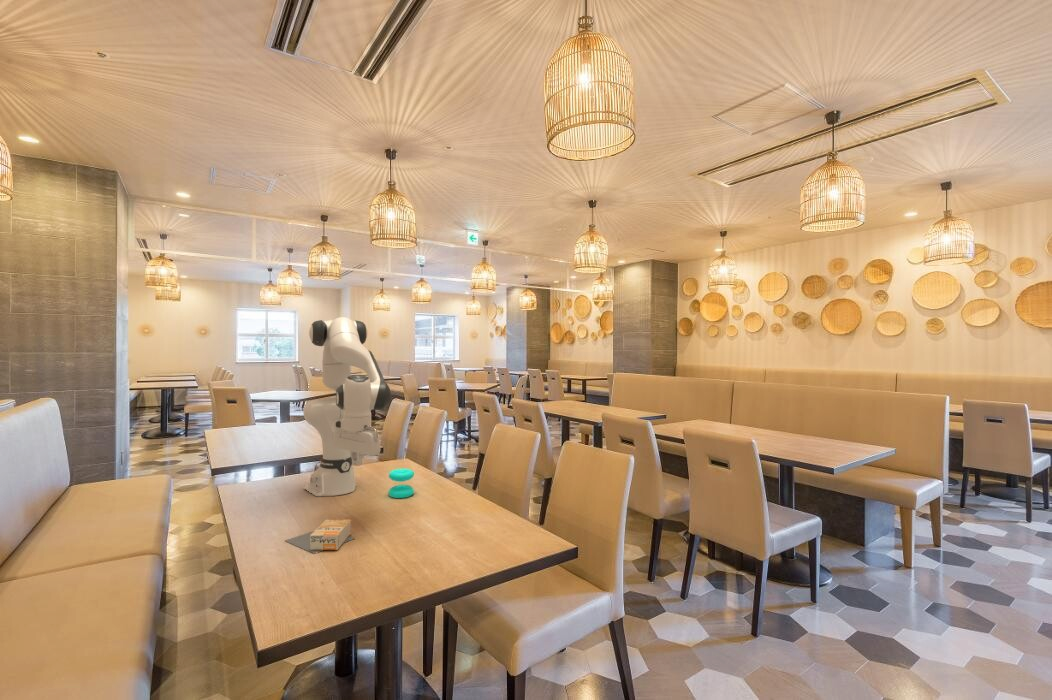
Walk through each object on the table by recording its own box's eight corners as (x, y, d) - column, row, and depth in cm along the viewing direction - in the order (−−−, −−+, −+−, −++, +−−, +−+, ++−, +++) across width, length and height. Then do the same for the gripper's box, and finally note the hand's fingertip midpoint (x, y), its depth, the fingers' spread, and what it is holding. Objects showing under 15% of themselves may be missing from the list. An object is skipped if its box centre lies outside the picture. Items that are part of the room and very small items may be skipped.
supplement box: (351, 518, 157) (338, 534, 144) (351, 533, 157) (338, 550, 144) (325, 518, 156) (309, 534, 143) (325, 533, 156) (309, 551, 143)
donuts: (395, 467, 203) (418, 468, 201) (395, 490, 204) (417, 492, 202) (384, 473, 194) (407, 474, 192) (384, 498, 194) (407, 500, 192)
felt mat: (284, 541, 150) (284, 540, 150) (325, 527, 162) (325, 526, 162) (314, 554, 141) (314, 553, 141) (355, 538, 153) (355, 538, 153)
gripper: (385, 426, 159) (384, 468, 159) (347, 419, 171) (346, 458, 171) (369, 429, 154) (368, 472, 154) (331, 421, 165) (330, 461, 166)
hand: (356, 464), depth 163 cm, fingers closed
